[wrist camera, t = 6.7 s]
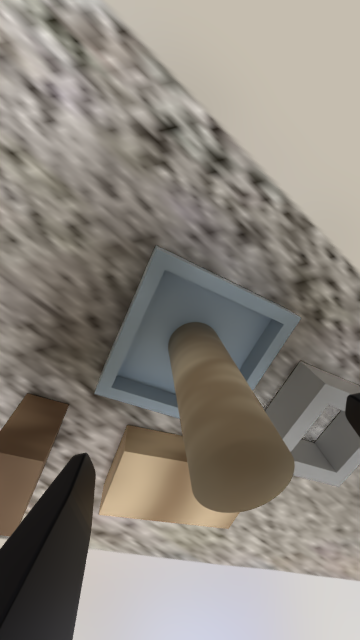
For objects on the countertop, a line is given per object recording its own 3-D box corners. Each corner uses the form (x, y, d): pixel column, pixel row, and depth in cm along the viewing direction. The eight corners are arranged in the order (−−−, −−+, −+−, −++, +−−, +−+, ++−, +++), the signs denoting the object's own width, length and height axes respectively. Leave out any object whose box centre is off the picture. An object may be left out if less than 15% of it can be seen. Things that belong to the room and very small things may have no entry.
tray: (284, 307, 15) (301, 317, 13) (217, 411, 17) (225, 431, 15) (155, 245, 13) (156, 248, 11) (100, 374, 15) (94, 393, 13)
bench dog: (69, 404, 15) (43, 461, 12) (43, 469, 17) (14, 536, 13) (27, 393, 15) (-14, 450, 11) (4, 461, 17) (-37, 530, 13)
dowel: (216, 317, 14) (295, 427, 6) (220, 362, 15) (293, 499, 8) (163, 327, 14) (183, 453, 6) (172, 372, 15) (199, 522, 7)
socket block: (372, 391, 18) (405, 415, 16) (316, 456, 20) (338, 487, 18) (300, 360, 16) (325, 383, 14) (247, 436, 18) (261, 467, 16)
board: (250, 445, 19) (264, 475, 17) (219, 495, 21) (228, 528, 19) (127, 420, 17) (124, 451, 15) (104, 478, 19) (98, 514, 17)
